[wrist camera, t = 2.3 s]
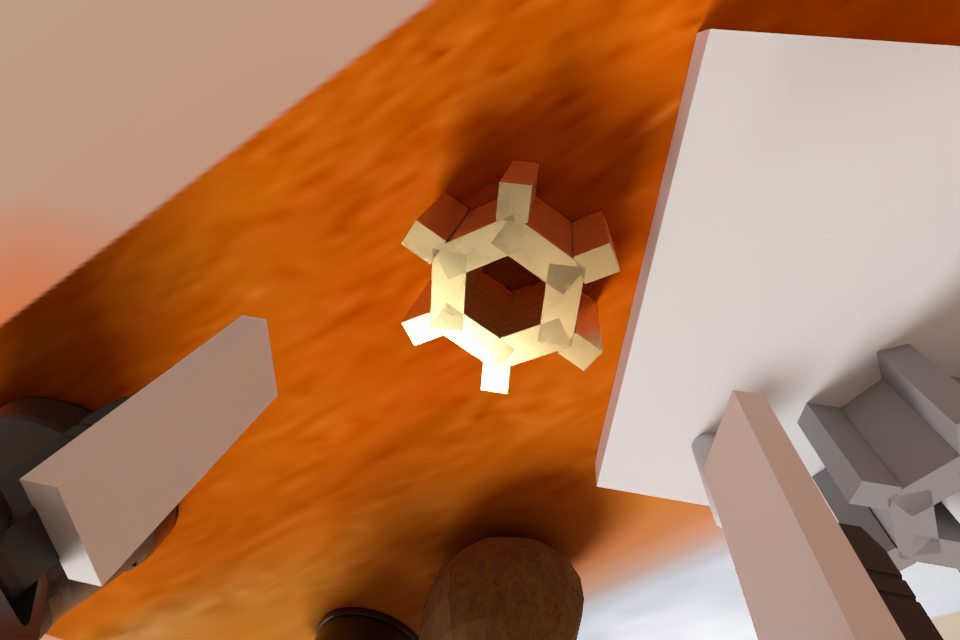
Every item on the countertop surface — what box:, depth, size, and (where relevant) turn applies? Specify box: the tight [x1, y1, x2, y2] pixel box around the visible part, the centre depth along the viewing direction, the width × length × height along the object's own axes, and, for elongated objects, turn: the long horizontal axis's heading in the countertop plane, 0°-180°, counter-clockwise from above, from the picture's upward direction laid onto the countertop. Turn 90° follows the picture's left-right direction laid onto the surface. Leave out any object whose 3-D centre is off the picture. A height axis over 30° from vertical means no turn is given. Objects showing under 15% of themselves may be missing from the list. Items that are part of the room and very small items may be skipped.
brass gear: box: [401, 160, 620, 394], centre depth 22 cm, size 9×9×5 cm
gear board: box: [595, 29, 960, 572], centre depth 20 cm, size 20×22×8 cm
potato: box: [419, 537, 584, 640], centre depth 31 cm, size 8×12×9 cm
